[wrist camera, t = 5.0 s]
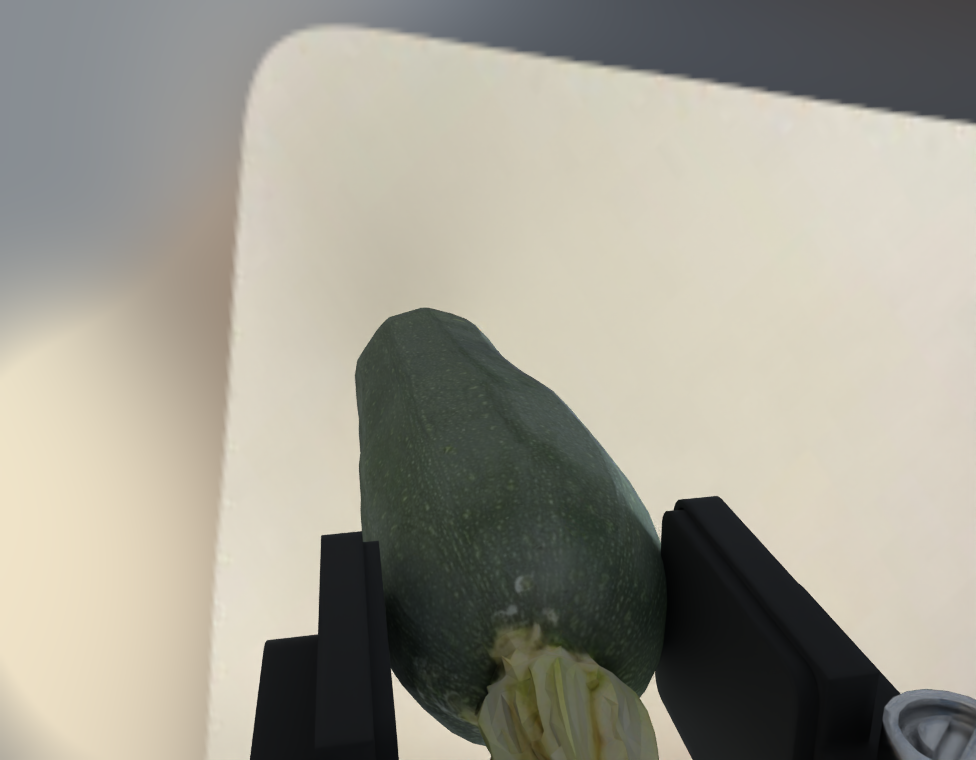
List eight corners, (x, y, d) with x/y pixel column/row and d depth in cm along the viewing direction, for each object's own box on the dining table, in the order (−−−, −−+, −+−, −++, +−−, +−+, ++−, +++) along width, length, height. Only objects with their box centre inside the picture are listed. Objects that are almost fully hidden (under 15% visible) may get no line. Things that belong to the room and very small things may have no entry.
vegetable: (316, 318, 25) (262, 1023, 6) (433, 220, 25) (739, 663, 6) (416, 425, 27) (609, 1245, 8) (527, 334, 26) (1003, 970, 8)
